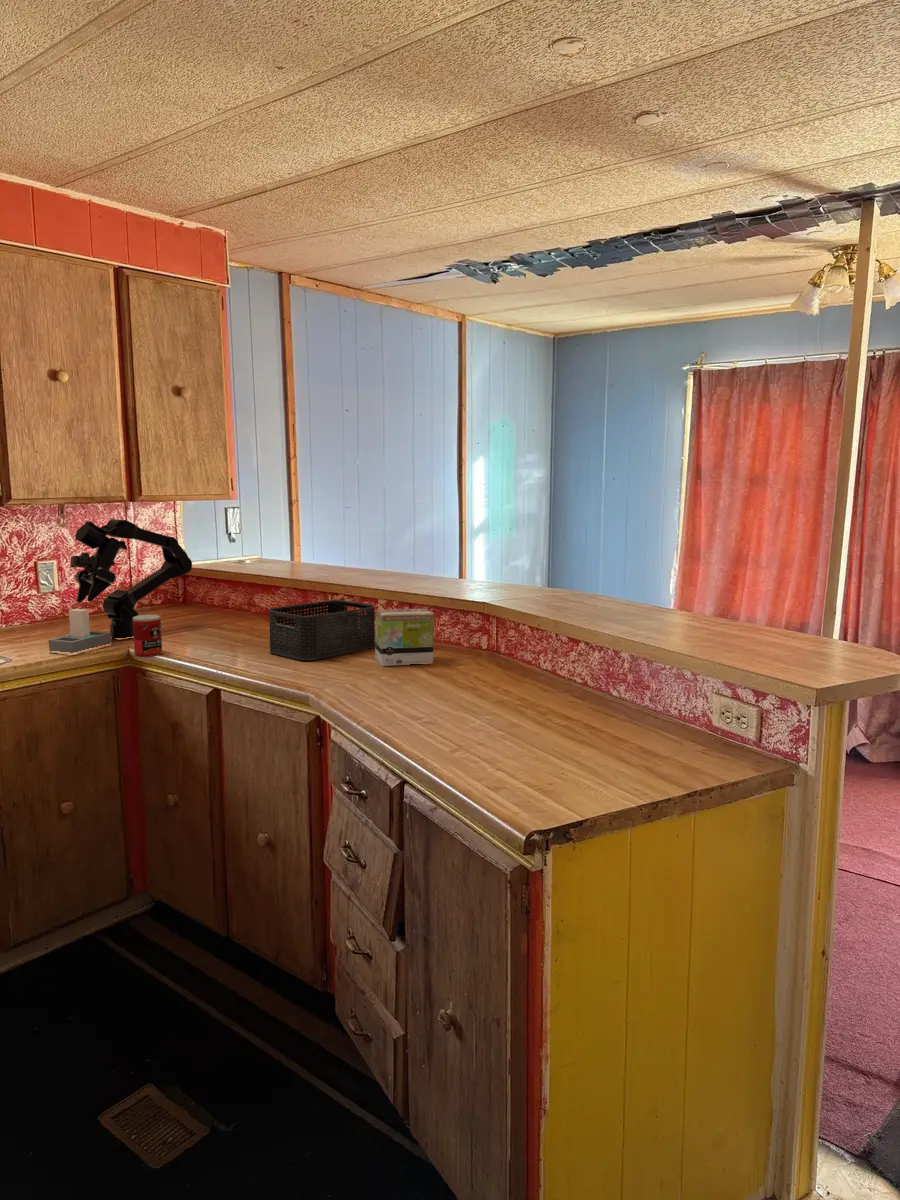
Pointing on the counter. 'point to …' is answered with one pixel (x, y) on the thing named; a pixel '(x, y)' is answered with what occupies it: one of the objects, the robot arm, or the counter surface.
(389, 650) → the tea box
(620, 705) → the counter surface
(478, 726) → the counter surface
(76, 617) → the block
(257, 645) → the counter surface
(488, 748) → the counter surface
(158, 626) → the canned food
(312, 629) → the storage bin
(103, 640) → the frame
